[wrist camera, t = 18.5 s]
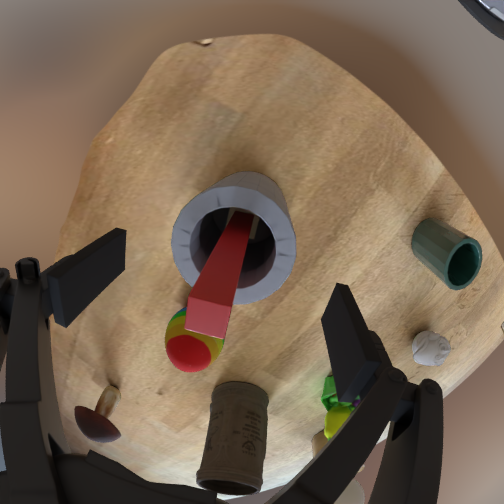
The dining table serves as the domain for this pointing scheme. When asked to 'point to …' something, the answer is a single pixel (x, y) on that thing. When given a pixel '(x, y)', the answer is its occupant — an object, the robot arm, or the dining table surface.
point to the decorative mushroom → (99, 417)
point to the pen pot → (447, 252)
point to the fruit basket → (335, 408)
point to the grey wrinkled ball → (430, 348)
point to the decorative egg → (190, 345)
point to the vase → (258, 249)
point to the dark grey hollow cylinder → (235, 440)
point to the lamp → (353, 495)
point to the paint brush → (220, 276)
